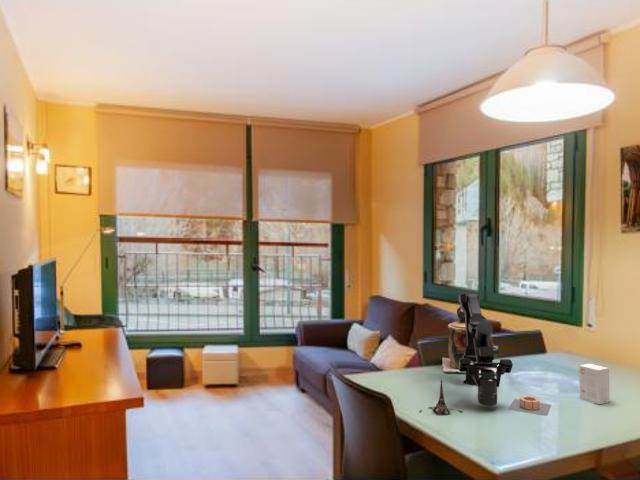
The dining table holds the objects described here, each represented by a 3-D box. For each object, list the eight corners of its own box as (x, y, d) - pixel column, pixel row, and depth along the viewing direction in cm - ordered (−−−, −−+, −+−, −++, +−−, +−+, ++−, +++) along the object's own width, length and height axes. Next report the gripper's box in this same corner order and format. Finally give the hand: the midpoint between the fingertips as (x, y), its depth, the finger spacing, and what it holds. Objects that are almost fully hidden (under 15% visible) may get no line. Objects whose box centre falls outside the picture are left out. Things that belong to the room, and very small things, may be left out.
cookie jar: (441, 360, 246) (440, 298, 246) (491, 362, 241) (491, 299, 241) (443, 373, 222) (442, 304, 222) (499, 376, 216) (498, 306, 216)
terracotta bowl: (521, 402, 181) (521, 394, 181) (540, 405, 177) (540, 397, 177) (518, 408, 175) (518, 400, 175) (538, 411, 172) (538, 403, 172)
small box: (610, 402, 181) (609, 368, 181) (599, 405, 178) (598, 370, 178) (589, 396, 189) (589, 363, 189) (579, 398, 186) (578, 365, 186)
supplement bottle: (498, 407, 171) (498, 373, 171) (478, 405, 173) (478, 372, 173) (495, 400, 178) (495, 368, 178) (476, 399, 180) (476, 367, 179)
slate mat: (514, 399, 185) (514, 399, 185) (551, 405, 178) (551, 404, 178) (507, 410, 174) (507, 409, 174) (547, 416, 167) (547, 416, 167)
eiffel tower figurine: (467, 413, 173) (467, 376, 173) (458, 422, 164) (458, 383, 164) (428, 405, 181) (427, 370, 181) (417, 414, 173) (417, 377, 173)
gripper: (459, 336, 180) (464, 374, 170) (511, 337, 178) (519, 376, 167) (456, 352, 188) (461, 389, 178) (506, 353, 186) (513, 391, 175)
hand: (488, 386), depth 174 cm, fingers closed on supplement bottle, 7 cm apart
